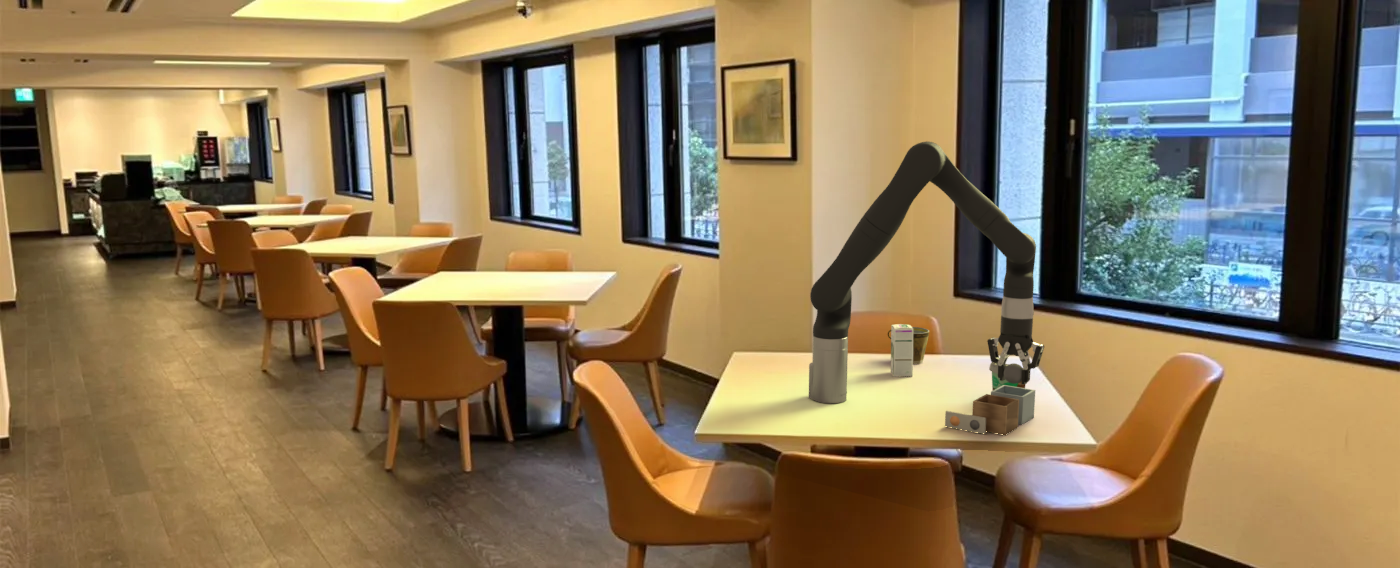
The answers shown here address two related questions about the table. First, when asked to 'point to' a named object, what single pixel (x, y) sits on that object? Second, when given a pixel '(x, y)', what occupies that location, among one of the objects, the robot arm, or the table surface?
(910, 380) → the table surface
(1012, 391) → the slate bin
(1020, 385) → the food container
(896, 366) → the syrup box
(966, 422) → the card
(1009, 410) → the brown bin
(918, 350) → the ceramic cup
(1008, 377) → the charcoal ball
